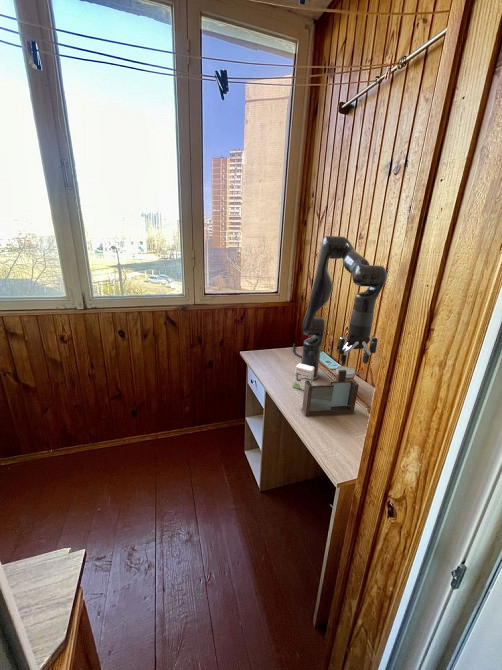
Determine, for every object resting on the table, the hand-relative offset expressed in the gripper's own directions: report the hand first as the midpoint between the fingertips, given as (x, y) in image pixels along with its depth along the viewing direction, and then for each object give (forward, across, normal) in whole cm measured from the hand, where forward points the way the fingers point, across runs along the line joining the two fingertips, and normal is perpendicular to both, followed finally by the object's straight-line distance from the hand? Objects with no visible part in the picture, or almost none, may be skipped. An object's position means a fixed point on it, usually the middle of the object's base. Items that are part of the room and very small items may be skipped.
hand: (353, 363), depth 110 cm
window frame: (+29, +2, -10) cm, 31 cm away
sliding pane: (+27, -2, -12) cm, 30 cm away
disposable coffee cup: (+29, -11, -27) cm, 41 cm away
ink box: (+29, +8, -31) cm, 44 cm away
